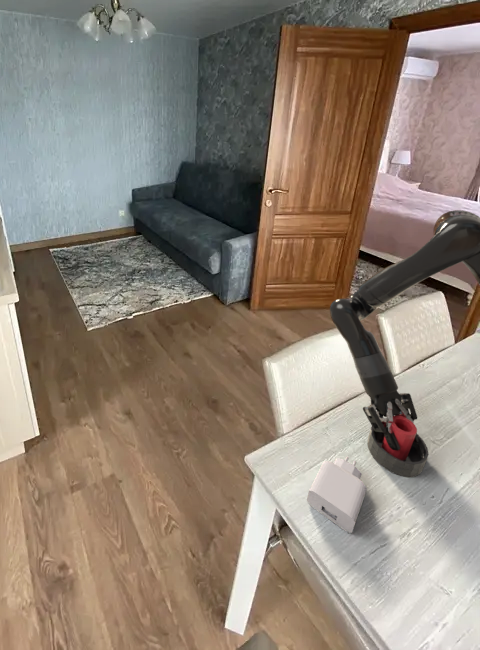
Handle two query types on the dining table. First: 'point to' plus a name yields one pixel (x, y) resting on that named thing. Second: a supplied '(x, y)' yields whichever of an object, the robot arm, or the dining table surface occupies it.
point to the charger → (338, 493)
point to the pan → (393, 464)
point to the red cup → (401, 437)
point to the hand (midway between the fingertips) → (405, 445)
